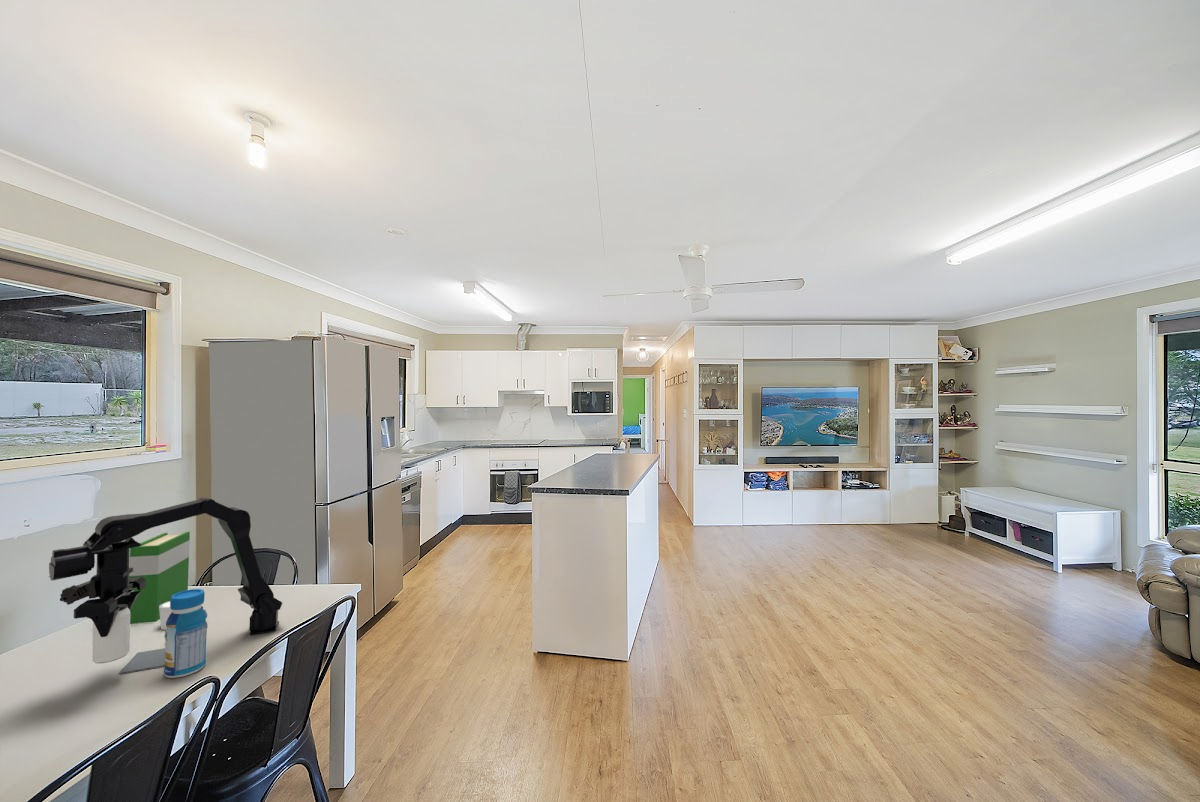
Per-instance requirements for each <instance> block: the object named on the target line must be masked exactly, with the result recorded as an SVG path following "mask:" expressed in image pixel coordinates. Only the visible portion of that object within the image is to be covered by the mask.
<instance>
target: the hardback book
mask: <svg viewBox="0 0 1200 802" xmlns="http://www.w3.org/2000/svg"><path fill="white" fill-rule="evenodd" d="M190 534H191V531H185V532H183V533H181V534H168V532H163V533H160V534H158V535H156V536H153V537H151V538H148V539H147V540H144V541H142V542H139V543H140V544H141V546H139V547H133V548H130V561H129V568H132V567H133V572H131V573H130V574H129V578H135V577H143V578H144V579H146V587H144V588H143V589H142V590H138V589H137V588H132V589H134V591H141V593H140V594H139V595H138V597H137V599H136V600H135V602H134V604H133V606H132V607H131V609H130V625H132V624H143V623H153V622H158V621H160V612H159V606H160V605H161V604H163V603H165V602H169V601H170V599H171V596H172V595H174V594H176V593H178V592H181V591H185V590H189V568H190V567H189V566H190V565H189V563H190V539H191V538H190Z"/></svg>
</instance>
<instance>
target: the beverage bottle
mask: <svg viewBox="0 0 1200 802" xmlns="http://www.w3.org/2000/svg"><path fill="white" fill-rule="evenodd" d="M205 593H206V592H205V590H204V589H202V588H201V589H200V588H192V589H188V590H185V591H181V592H178V593H176V594H174V595H172V596H171V599H170V608H171V610H172V611H173V612H172V613H171V614H170V615H169V617H168V619H167V621H166V627H167V630H165V631H164V640H165V641H164V648H165V667H163V668H164V670H163V674H164V676H165V678H168V679H169V678H170V679H177V678H183V677H186V676H187V677H188V676H189V675H192V674H195V673H196V672H199V671H200V670H202V669H203V668H204V667H205V665H206V664H207V663H206V661H207V659H206V656H207V655H206V654H207V632H208V627H209V626H208V621H207V618H208V612H207V610H206V609H205V608H204V606H203V604H204V602H205V596H206V595H205Z"/></svg>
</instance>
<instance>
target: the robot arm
mask: <svg viewBox="0 0 1200 802" xmlns="http://www.w3.org/2000/svg"><path fill="white" fill-rule="evenodd" d="M204 514H206V515H208V516H210V517H212V518H216V519H217V521H218V523H219V525H220V526H221V528H222V530H223V531H224V533H225V534H226V535H227V537H229V539H230V541H231V544H232V547H233V551H234V554H235V557H236V560H237V564H238V568H239V569H240V573H241V576H242V579H243V585H242V587H239V588H237V591H238V593H239V595H240V601H241V602H242V603H244V604H247V605H248V606H250V608H251V609H253V610H252V612H251V615H250V616H249V628H248V629H249V631H250V632H249V635H250V636H251V635H258V634H264V633H271V632H276V630H277V628H278V626H279V624H280V621H279V610H281V607H282V605H283V602H282V601H281V600H279V599H277V598H276V597H274V592H273V591H272V588H271V587H270V585H269V584H268V583H267V582H266V580H265V579H264V577H263V576H262V573H261V570H260V566H259V563H258V559H257V557H256V553H255V550H254V547H253V543H252V540H251V537H250V532H251V528H252V527H251V526H252V524H251V515H250V513H249V512H248V511H247V510H244V509H241V508H238V507H235V506H234V507H232V506H231V507H228V506H226V505H224V504H221V503H219V502H217V501H215V500H214V499H213V498H210V497H200V498H198V499H196V500H195V499H194V500H192V501H186V502H183V503H180V504H175V505H172V506H167V507H164V508H160V509H156V510H155V509H154V510H152V511H149V512H148V511H147V512H143V513H129V514H128V513H127V514H120V515H111V516H106V517H104V518H102V519H101V520H100V521H99V522H97V524H96V526H95V528H94V532H93V533H92V534H91V535H90V536H89V538H88V537H87V539H86V541H84V543H83V544H82V545H81V546H77V547H71V548H59V549H53V550H52V553H51V554H52V555H51V557H50V562H49V564H48V573H49V578H50V581H57V580H63V579H67V578H71V577H77V576H81V575H87V574H88V572H89V571H92V569H94V568H95V563H96V574H95V575H93V576H91V578H90V580H88V581H85V582H82V583H79V584H77V585H75V584H73V585H72V586H68V587H65V588H64V589H62V591H61V593H60V594H59V595H60V598H59V601H60V602H63V603H66V605H68V606H69V605H72V604H74V603H75V602H77V601H79V600H82V599H86V598H88V599H87V600H85V601H84V602H83V603H81V604H79V605H78V606H77V607H75V608H74V609H73V619H75V620H77V619H82V618H84V619H85V618H87V619H90V620H91V621H92V623H93V622H94V624H95V626H96V628H97V630H98V632H99V634H100V636H101V637H106V636H108V634H109V632H110V630H111V627H112V625H113V622H114V620H115V618H116V615H117V613H118V611H119V609H120V607H116V606H117V605H119V604H126V605H128V609H129V610H130V609H131V607H132V606H133V604H134V602H135V600H136V599H137V597H138V595H139V594H140V593H141V591H134V589H132V588H137V589H138V590H142V589H143V588H144V587H146V579H144V578H143V577H135V578H129V574H130V573H131V572H133V567H132V568H130V548H133V547H139V546H141V544H140V543H141V542H138V541H137V540H135V539H134V537H136V536H138V535H141V533H143V532H145V531H147V530H150V529H152V528H155V527H160V526H163V525H168V524H171V523H173V522H177V521H181V520H185V519H188V518H192V517H196V516H200V515H204ZM95 556H96V560H95Z"/></svg>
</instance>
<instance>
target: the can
mask: <svg viewBox="0 0 1200 802" xmlns="http://www.w3.org/2000/svg"><path fill="white" fill-rule="evenodd" d="M116 607H120V609H119V611H118V613H117V615H116V618H115V620H114V622H113V625H112V627H111V630H110V632H109V634H108V636H106V637H101V636H100V634H99V632H98V630H97V628H96V626H95V624H94V622H93V621H92V647H91V648H92V649H91V651H92V655H91V657H92V658H91V659H92V662H94V663H95V664H106V663H111V662H114V661H117V660H120V659H121V658H124V657H125V656H127V655H128V654H129V653H130V651H131V650H130V648H131V647H130V646H131V624H130V610H129V609H128V605H126V604H119V605H117V606H116Z"/></svg>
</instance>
